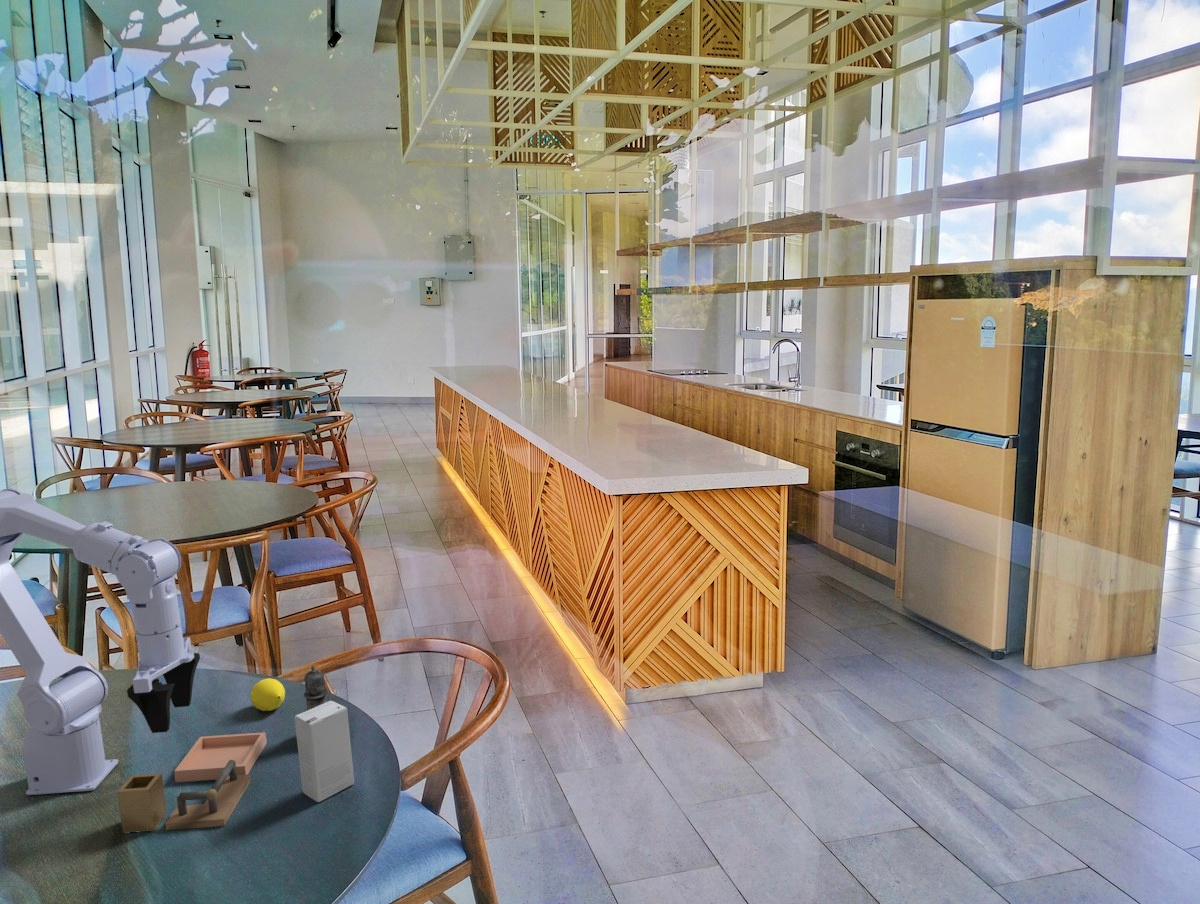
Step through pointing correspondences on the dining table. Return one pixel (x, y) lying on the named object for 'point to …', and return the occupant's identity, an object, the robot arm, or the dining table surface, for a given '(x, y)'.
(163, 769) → the dining table surface
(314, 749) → the skincare box
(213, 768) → the dish
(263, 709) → the lemon
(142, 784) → the hollow wooden box
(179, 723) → the dining table surface
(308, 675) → the dark grey chess piece
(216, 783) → the bent wire
